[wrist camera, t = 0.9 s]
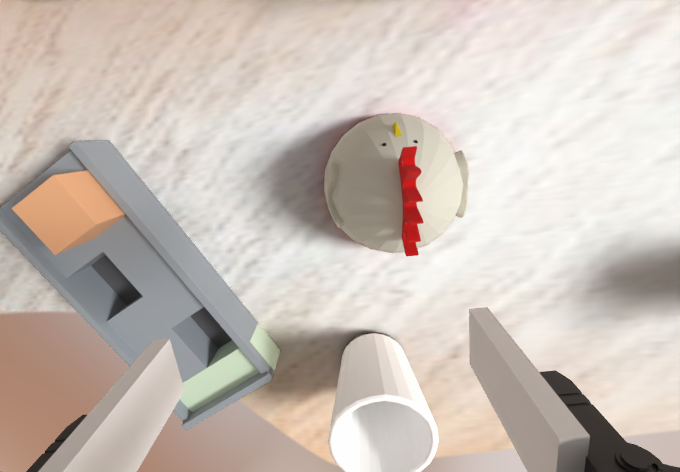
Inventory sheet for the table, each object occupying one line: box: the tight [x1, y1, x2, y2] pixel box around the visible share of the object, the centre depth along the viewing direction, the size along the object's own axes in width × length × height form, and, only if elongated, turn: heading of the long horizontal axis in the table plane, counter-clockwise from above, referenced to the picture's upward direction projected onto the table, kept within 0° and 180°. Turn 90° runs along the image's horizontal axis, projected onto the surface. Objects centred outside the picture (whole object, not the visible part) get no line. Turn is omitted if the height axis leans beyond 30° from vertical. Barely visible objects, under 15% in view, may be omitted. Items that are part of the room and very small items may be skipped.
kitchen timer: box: [324, 113, 469, 256], centre depth 31 cm, size 14×14×15 cm
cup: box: [328, 333, 439, 472], centre depth 38 cm, size 10×10×13 cm
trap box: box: [0, 140, 281, 430], centre depth 39 cm, size 30×12×6 cm, turn 34°
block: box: [12, 170, 126, 255], centre depth 33 cm, size 5×5×5 cm
